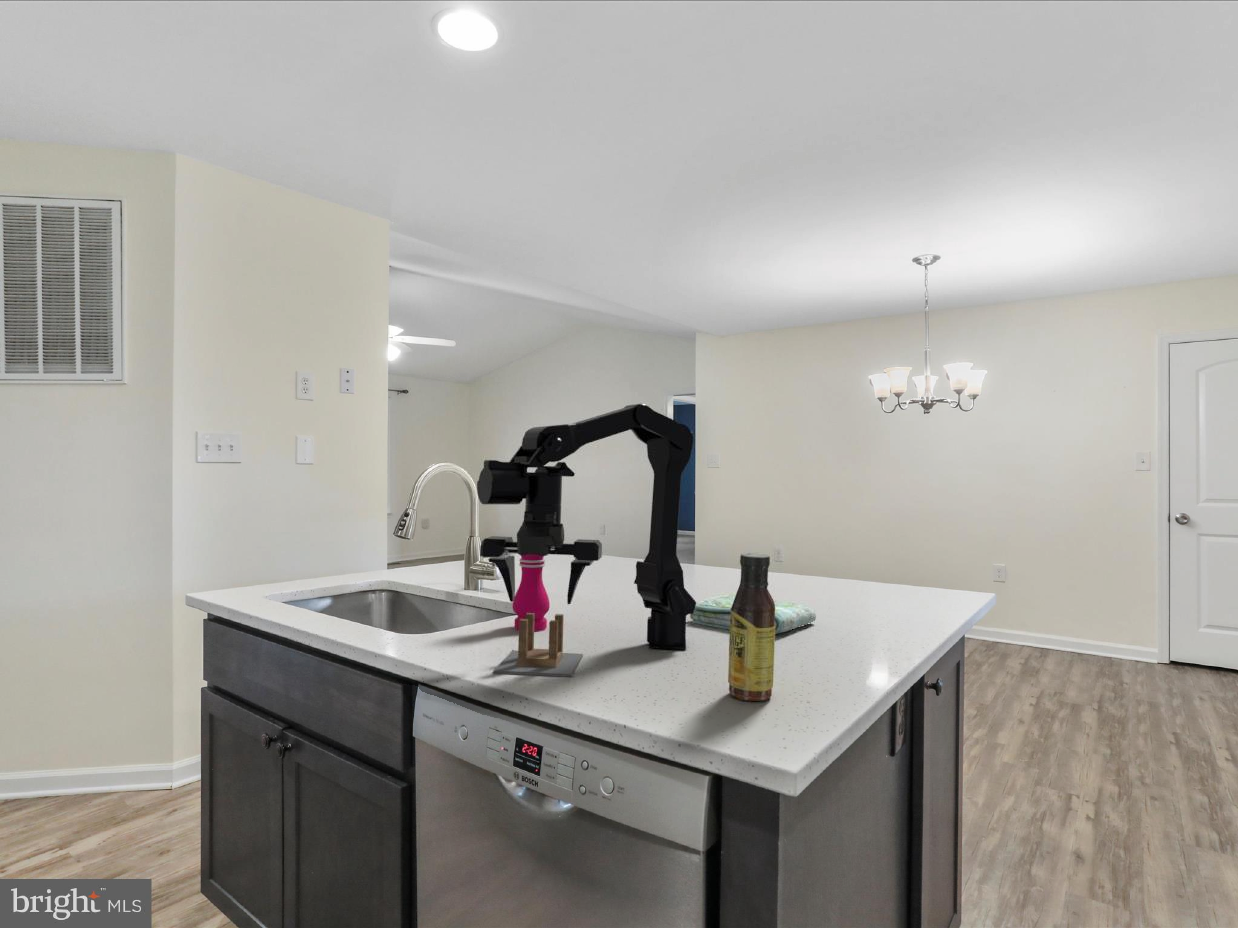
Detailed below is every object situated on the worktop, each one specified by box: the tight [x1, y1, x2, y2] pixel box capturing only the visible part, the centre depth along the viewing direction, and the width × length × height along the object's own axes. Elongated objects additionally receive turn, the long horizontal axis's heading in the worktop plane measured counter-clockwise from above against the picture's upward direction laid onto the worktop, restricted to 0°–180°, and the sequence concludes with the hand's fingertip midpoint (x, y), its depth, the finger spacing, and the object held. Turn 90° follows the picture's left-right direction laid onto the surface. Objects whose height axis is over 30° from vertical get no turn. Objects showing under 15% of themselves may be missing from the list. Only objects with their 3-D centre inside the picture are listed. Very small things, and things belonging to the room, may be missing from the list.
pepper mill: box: [512, 554, 550, 632], centre depth 137 cm, size 7×7×20 cm
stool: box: [517, 613, 565, 667], centre depth 111 cm, size 6×6×7 cm
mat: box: [493, 650, 584, 678], centre depth 111 cm, size 12×12×1 cm
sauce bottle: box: [727, 552, 776, 702], centre depth 97 cm, size 6×6×20 cm
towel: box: [689, 594, 817, 635], centre depth 146 cm, size 18×21×5 cm
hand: (540, 602), depth 111 cm, fingers open, 9 cm apart
